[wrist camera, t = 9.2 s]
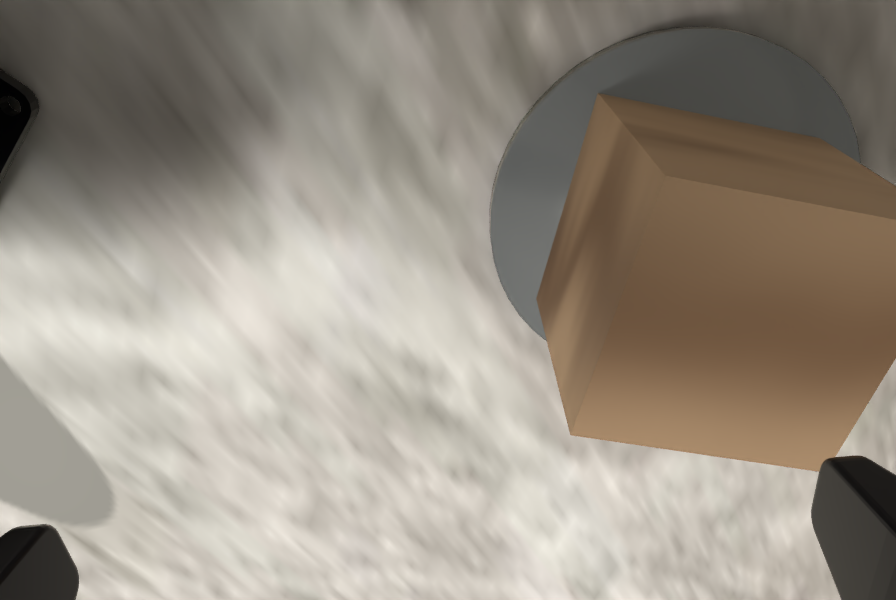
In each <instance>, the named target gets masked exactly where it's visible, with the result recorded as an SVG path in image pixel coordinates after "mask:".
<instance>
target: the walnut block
mask: <svg viewBox="0 0 896 600" xmlns="http://www.w3.org/2000/svg"><path fill="white" fill-rule="evenodd" d="M536 300H537V304H538V308H539V312H540V316H541V320H542V324H543V328H544V332H545V336H546V340H547V344H548V348H549V352H550V355H551V359H552V363H553V367H554V371H555V375H556V379H557V383H558V387H559V391H560V395H561V399H562V403H563V407H564V411H565V415H566V419H567V423H568V427H569V431H570V435H573V436H580V437H587V438H594V439H600V440H607V441H614V442H621V443H628V444H635V445H641V446H648V447H655V448H662V449H669V450H675V451H682V452H689V453H696V454H703V455H710V456H716V457H723V458H730V459H737V460H744V461H750V462H757V463H764V464H771V465H778V466H784V467H791V468H798V469H805V470H812V471H820V467H821V464H822V463H823V462H824V461H825V460H826V459H828V458H833V457H835V456H836V455H837V453H838V451H839V450H840V448H841V446H842V445H843V443H844V441H845V440H846V438H847V437H848V435H849V433H850V432H851V430H852V428H853V427H854V425H855V424H856V422H857V420H858V419H859V417H860V415H861V414H862V412H863V411H864V409H865V407H866V406H867V404H868V402H869V401H870V399H871V397H872V396H873V394H874V393H875V391H876V389H877V388H878V386H879V384H880V383H881V381H882V380H883V378H884V376H885V375H886V373H887V371H888V370H889V368H890V367H891V365H892V363H893V362H894V360H895V358H896V186H894V185H893V184H891V183H890V182H888V181H887V180H885V179H883V178H882V177H880V176H879V175H877V174H876V173H874V172H872V171H871V170H869V169H868V168H866V167H865V166H863V165H861V164H860V163H858V162H857V161H855V160H854V159H852V158H850V157H849V156H847V155H846V154H844V153H842V152H841V151H839V150H838V149H836V148H835V147H833V146H831V145H830V144H828V143H827V142H825V141H824V140H822V139H820V138H817V137H812V136H807V135H802V134H797V133H792V132H787V131H782V130H777V129H772V128H768V127H763V126H758V125H753V124H748V123H743V122H738V121H733V120H728V119H723V118H718V117H713V116H709V115H704V114H699V113H694V112H689V111H684V110H679V109H674V108H669V107H664V106H659V105H654V104H649V103H645V102H640V101H635V100H630V99H625V98H620V97H615V96H610V95H605V94H600V93H598V94H597V97H596V101H595V104H594V107H593V111H592V114H591V117H590V121H589V124H588V127H587V131H586V134H585V137H584V141H583V144H582V147H581V151H580V154H579V157H578V161H577V164H576V167H575V171H574V174H573V177H572V181H571V184H570V187H569V191H568V194H567V197H566V201H565V204H564V207H563V211H562V214H561V218H560V221H559V224H558V228H557V231H556V234H555V238H554V241H553V244H552V248H551V251H550V254H549V258H548V261H547V264H546V268H545V271H544V274H543V278H542V281H541V284H540V288H539V291H538V294H537V298H536Z"/></svg>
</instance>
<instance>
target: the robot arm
mask: <svg viewBox="0 0 896 600" xmlns="http://www.w3.org/2000/svg"><path fill="white" fill-rule="evenodd" d="M8 96H11V97H14V98H15V99H16V100H17V101H18V102H19V103H20V106H21V112H18V111H16V110H14V109H13V108H12V107H11V106H10V105H9V102H8ZM38 110H39V104H38V99H37V98H36V96H35V94H34V93H33V92H32V91H31V90H30V89H29V88H28V87H27V86H25V85H24V84H22V83H21V82H19V81H18V80H16V79H15V78H13V77H12V76H10V75H9V74H7V73H6V72H4V71H3V70H1V69H0V183H1V181H2V179H3V177H4V175H5V174H6V172H7V170H8V168H9V166H10V164H11V162H12V161H13V159H14V157H15V155H16V153H17V151H18V149H19V148H20V146H21V144H22V142H23V140H24V138H25V136H26V135H27V133H28V131H29V129H30V127H31V125H32V123H33V122H34V120H35V118H36V116H37V114H38ZM811 518H812V524H813V528H814V531H815V534H816V536H817V539H818V541H819V544H820V546H821V549H822V551H823V554H824V556H825V559H826V562H827V564H828V567H829V569H830V572H831V574H832V577H833V579H834V582H835V584H836V587H837V589H838V592H839V595H840V597H841V600H896V475H895V474H893V473H891V472H890V471H888V470H886V469H885V468H883V467H882V466H880V465H878V464H877V463H875V462H873V461H872V460H870V459H868V458H866V457H863V456H845V457H833V458H828V459H826V460H825V461H824V462H823V463H822V464H821V467H820V471H819V475H818V480H817V485H816V489H815V494H814V499H813V503H812V509H811ZM78 587H79V575H78V570H77V568H76V565H75V563H74V562H73V560H72V558H71V556H70V554H69V552H68V550H67V548H66V546H65V544H64V543H63V541H62V539H61V537H60V535H59V533H58V531H57V530H56V529H55V528H54V527H52V526H51V525H47V524H40V525H29V526H19V527H16V528H13V529H11V530H10V531H8V532H7V533H5V534H4V535H3V536H1V537H0V600H76V596H77V592H78Z"/></svg>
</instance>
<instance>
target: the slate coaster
mask: <svg viewBox="0 0 896 600" xmlns="http://www.w3.org/2000/svg"><path fill="white" fill-rule="evenodd" d="M598 93H600V94H605V95H610V96H615V97H620V98H625V99H630V100H635V101H640V102H645V103H649V104H654V105H659V106H664V107H669V108H674V109H679V110H684V111H689V112H694V113H699V114H704V115H709V116H713V117H718V118H723V119H728V120H733V121H738V122H743V123H748V124H753V125H758V126H763V127H768V128H772V129H777V130H782V131H787V132H792V133H797V134H802V135H807V136H812V137H817V138H820V139H822V140H824V141H825V142H827V143H828V144H830V145H831V146H833V147H835V148H836V149H838V150H839V151H841V152H842V153H844V154H846V155H847V156H849V157H850V158H852V159H854V160H855V161H857V162H858V163H860V155H859V149H858V143H857V137H856V134H855V131H854V128H853V126H852V123H851V120H850V117H849V115H848V113H847V111H846V109H845V107H844V105H843V104H842V102H841V100H840V98H839V96H838V95H837V94H836V92H835V91H834V90H833V89H832V87H831V86H830V85H829V83H828V82H827V81H826V80H825V78H824V77H823V76H821V75H820V74H819V73H818V72H817V71H816V70H815V69H814V68H813V67H811V66H810V65H809V64H808V63H807V62H806V61H804V60H802V59H801V58H799V57H798V56H796V55H795V54H793V53H791V52H790V51H788V50H787V49H785V48H782V47H780V46H778V45H776V44H773V43H771V42H769V41H766V40H764V39H762V38H759V37H757V36H755V35H751V34H747V33H743V32H739V31H735V30H732V29H725V28H715V27H706V26H698V27H676V28H670V29H665V30H659V31H653V32H649V33H646V34H642V35H639V36H636V37H633V38H630V39H626V40H624V41H621V42H619V43H617V44H615V45H613V46H610V47H608V48H606V49H604V50H602V51H600V52H598V53H596V54H595V55H593V56H591V57H590V58H588V59H586V60H585V61H583V62H582V63H580V64H578V65H577V66H575V67H574V68H573V69H572V70H570V71H569V72H568V73H566V74H565V75H564V76H563V77H561V78H560V79H559V80H558V81H556V82H555V83H554V84H553V85H552V86H551V87H550V88H549V89H548V90H547V91H546V92H545V93H544V94H543V95H542V96H541V97H540V98H539V99H538V100H537V101H536V103H535V104H534V105H533V107H532V108H531V109H530V111H529V112H528V113H527V114H526V116H525V117H524V118H523V120H522V121H521V122H520V124H519V126H518V127H517V129H516V131H515V133H514V134H513V136H512V138H511V139H510V141H509V143H508V145H507V147H506V150H505V152H504V154H503V157H502V159H501V161H500V164H499V166H498V170H497V173H496V177H495V181H494V184H493V188H492V195H491V202H490V210H489V226H490V238H491V245H492V251H493V258H494V263H495V266H496V269H497V273H498V276H499V279H500V282H501V284H502V286H503V288H504V290H505V292H506V294H507V297H508V299H509V300H510V302H511V303H512V305H513V306H514V308H515V309H516V311H517V312H518V314H519V315H520V316H521V317H522V319H523V320H524V321H525V322H526V323H527V324H528V325H529V326H530V327H531V328H532V330H534V331H535V332H536V333H537V334H538V335H540V336H541V337H542V338H543V339H544V340H546V336H545V332H544V328H543V324H542V320H541V316H540V312H539V308H538V304H537V300H536V298H537V294H538V291H539V288H540V284H541V281H542V278H543V274H544V271H545V268H546V264H547V261H548V258H549V254H550V251H551V248H552V244H553V241H554V238H555V234H556V231H557V228H558V224H559V221H560V218H561V214H562V211H563V207H564V204H565V201H566V197H567V194H568V191H569V187H570V184H571V181H572V177H573V174H574V171H575V167H576V164H577V161H578V157H579V154H580V151H581V147H582V144H583V141H584V137H585V134H586V131H587V127H588V124H589V121H590V117H591V114H592V111H593V107H594V104H595V101H596V97H597V94H598ZM546 341H547V340H546Z"/></svg>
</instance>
